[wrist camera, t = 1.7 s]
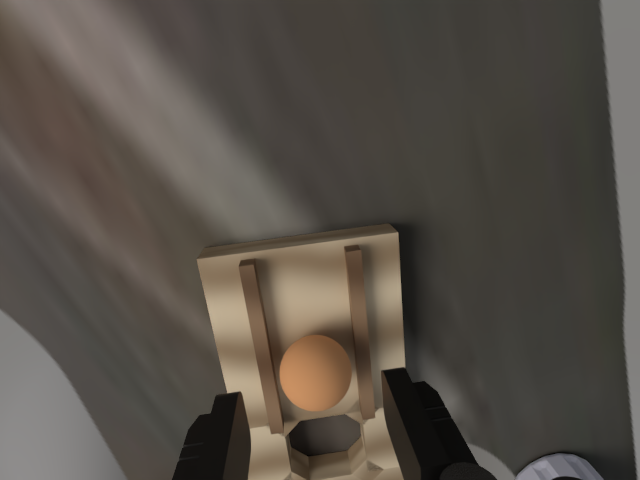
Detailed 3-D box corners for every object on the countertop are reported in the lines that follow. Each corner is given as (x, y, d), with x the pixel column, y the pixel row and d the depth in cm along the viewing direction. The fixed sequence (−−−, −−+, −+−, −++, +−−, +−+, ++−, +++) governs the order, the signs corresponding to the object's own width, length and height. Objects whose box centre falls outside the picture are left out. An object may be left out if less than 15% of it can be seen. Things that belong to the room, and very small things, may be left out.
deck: (204, 247, 28) (192, 265, 24) (389, 223, 28) (403, 237, 25) (257, 487, 35) (253, 528, 31) (403, 464, 36) (416, 501, 32)
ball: (275, 327, 27) (273, 369, 23) (342, 317, 28) (354, 357, 23) (285, 383, 29) (284, 434, 24) (348, 373, 29) (360, 422, 24)
